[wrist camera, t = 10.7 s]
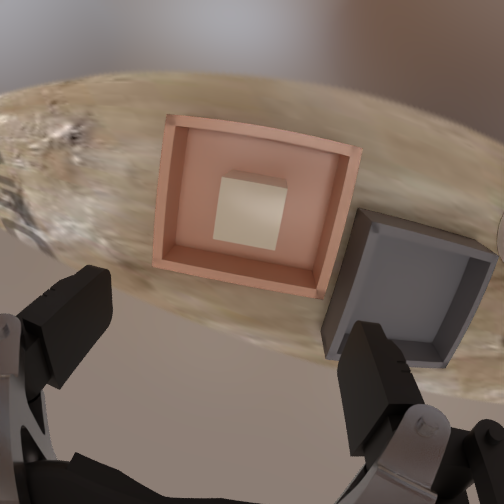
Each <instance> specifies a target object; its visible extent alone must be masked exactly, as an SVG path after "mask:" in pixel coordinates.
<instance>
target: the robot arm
mask: <svg viewBox="0 0 504 504" xmlns="http://www.w3.org/2000/svg"><path fill="white" fill-rule="evenodd" d="M112 314H113V306H112V289H111V274H110V272H109V270H108V269H104V268H100V267H96V266H92V265H86V266H85V267H84V268H82V269H81V270H80V271H78V272H77V273H76V274H75V275H72V276H69V277H67V278H64V279H62V280H59V281H58V282H57V283H56V284H54V285H53V286H52V287H51V288H50V290H49V289H48V290H47V291H46V292H44V293H43V295H42V296H39V297H38V298H37V299H36V300H34V301H33V302H32V303H31V304H30V305H29V306H27V307H26V308H25V309H24V310H22V311H21V312H20V313H19V314H18V315H17V316H14V315H11V314H0V504H259V503H249V502H243V501H235V500H229V499H224V498H170V497H165V496H162V495H160V494H158V493H156V492H154V491H152V490H151V489H149V488H147V487H145V486H143V485H142V484H140V483H138V482H137V481H135V480H133V479H132V478H130V477H129V476H127V475H125V474H124V473H122V472H121V471H119V470H117V469H114V468H112V467H109V466H107V465H104V464H101V463H99V462H97V461H95V460H92V459H90V458H88V457H85V456H83V455H81V454H79V453H76V452H75V454H74V456H73V458H72V460H71V461H70V462H68V461H60V460H57V458H56V455H55V453H54V451H53V448H52V444H51V440H50V434H49V427H48V421H47V413H46V404H45V395H44V392H43V388H44V386H45V385H46V384H49V385H51V386H53V387H55V388H57V389H61V387H62V386H63V384H64V383H65V382H66V381H67V379H68V378H69V377H70V375H71V374H72V373H73V371H74V370H75V369H76V367H77V366H78V365H79V363H80V362H81V361H82V360H83V358H84V357H85V356H86V354H87V353H88V352H89V350H90V349H91V348H92V347H93V345H94V344H95V343H96V341H97V340H98V339H99V338H100V336H101V335H102V334H103V333H104V332H105V330H106V329H107V328H108V326H109V324H110V322H111V319H112ZM410 372H411V370H410V368H409V366H408V364H406V359H405V357H404V355H403V353H402V351H401V350H400V349H399V348H398V346H397V345H396V344H395V343H394V342H393V341H392V340H387V337H386V335H385V333H384V331H383V328H382V326H381V325H380V324H379V323H374V322H367V321H360V320H357V321H356V322H355V323H354V325H353V327H352V330H351V332H350V335H349V337H348V340H347V342H346V345H345V347H344V349H343V352H342V354H341V356H340V359H339V363H338V369H337V376H338V381H339V387H340V392H341V398H342V404H343V410H344V416H345V422H346V429H347V435H348V441H349V449H350V456H365V462H366V463H365V464H364V465H363V466H362V468H361V469H360V470H359V472H358V473H357V475H356V476H355V477H354V479H353V480H352V481H351V483H350V484H349V485H348V487H347V488H346V489H345V490H344V492H343V493H342V494H341V496H340V497H339V498H338V499H337V501H336V502H335V503H334V504H469V500H468V496H467V492H466V489H467V488H468V487H470V486H471V485H472V484H473V483H475V487H476V490H477V494H478V498H479V501H480V504H504V428H503V427H502V426H501V425H500V424H499V423H497V422H495V421H493V420H489V419H484V420H481V421H479V422H478V423H477V424H476V425H475V427H474V428H473V429H472V430H471V431H466V430H461V429H457V428H452V427H450V423H449V421H448V419H447V418H446V416H445V415H444V414H443V413H442V412H441V411H440V410H438V409H437V408H435V407H433V406H430V405H426V404H425V403H424V400H423V398H422V396H421V393H420V391H419V389H418V386H417V384H416V382H415V379H414V377H413V375H412V373H410Z"/></svg>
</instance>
